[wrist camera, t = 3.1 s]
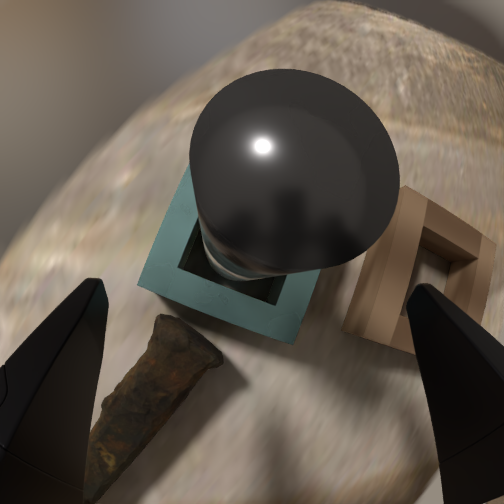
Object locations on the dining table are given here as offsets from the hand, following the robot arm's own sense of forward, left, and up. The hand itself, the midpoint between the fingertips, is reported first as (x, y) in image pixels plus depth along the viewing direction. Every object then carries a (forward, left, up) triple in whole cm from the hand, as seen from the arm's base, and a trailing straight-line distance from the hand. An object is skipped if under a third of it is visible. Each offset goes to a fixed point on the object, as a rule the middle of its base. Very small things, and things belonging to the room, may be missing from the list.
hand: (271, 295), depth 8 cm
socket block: (+2, +1, -10) cm, 10 cm away
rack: (+4, -11, -10) cm, 16 cm away
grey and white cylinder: (+2, +1, -10) cm, 10 cm away
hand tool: (-12, +3, -10) cm, 16 cm away
